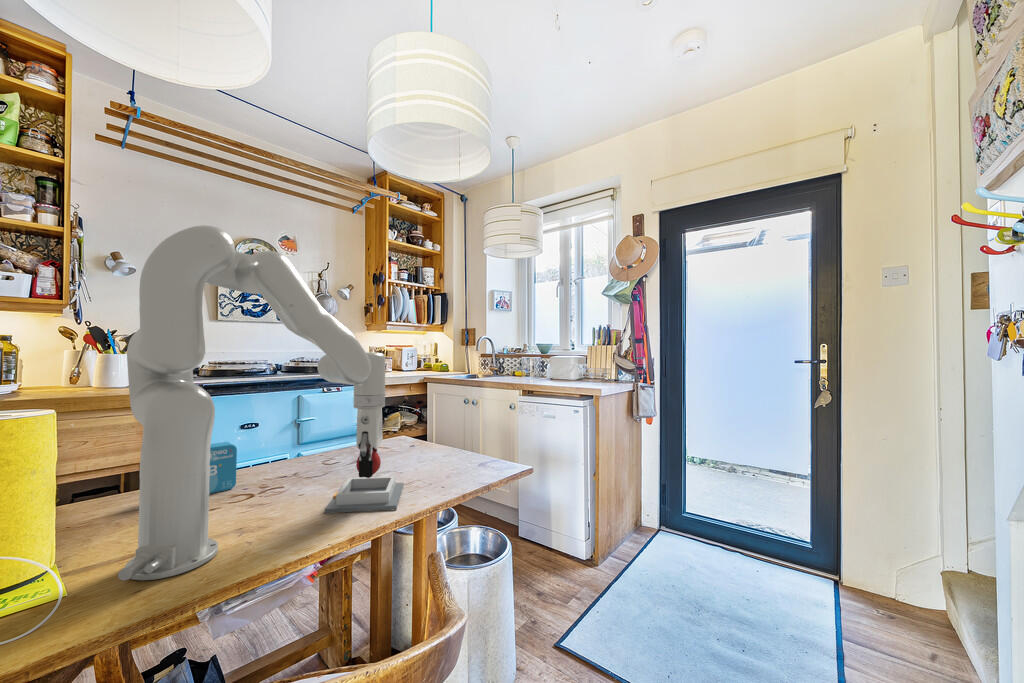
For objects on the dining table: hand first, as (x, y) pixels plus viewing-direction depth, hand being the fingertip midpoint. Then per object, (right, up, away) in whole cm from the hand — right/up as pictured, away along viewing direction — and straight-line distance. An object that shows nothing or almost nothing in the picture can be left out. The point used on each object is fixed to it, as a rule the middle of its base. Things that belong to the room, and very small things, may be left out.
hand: (368, 471), depth 101 cm
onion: (0, -2, 0) cm, 2 cm away
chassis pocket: (0, -7, 0) cm, 7 cm away
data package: (-43, -6, +3) cm, 44 cm away
